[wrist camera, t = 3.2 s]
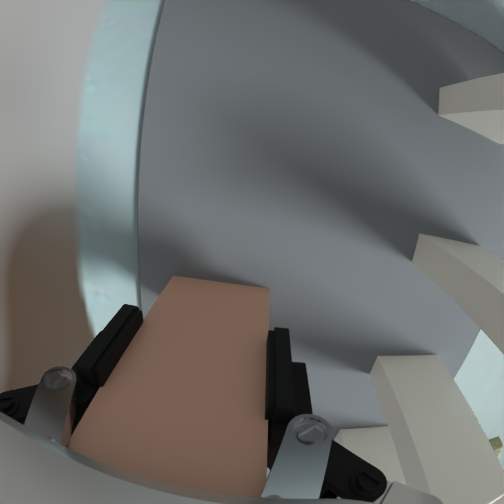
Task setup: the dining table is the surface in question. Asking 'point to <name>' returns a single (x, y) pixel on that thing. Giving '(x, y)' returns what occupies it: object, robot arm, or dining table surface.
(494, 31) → the dining table surface
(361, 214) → the mat
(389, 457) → the domino
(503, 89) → the domino
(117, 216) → the dining table surface
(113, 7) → the dining table surface
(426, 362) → the domino
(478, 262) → the domino
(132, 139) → the dining table surface
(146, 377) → the domino
